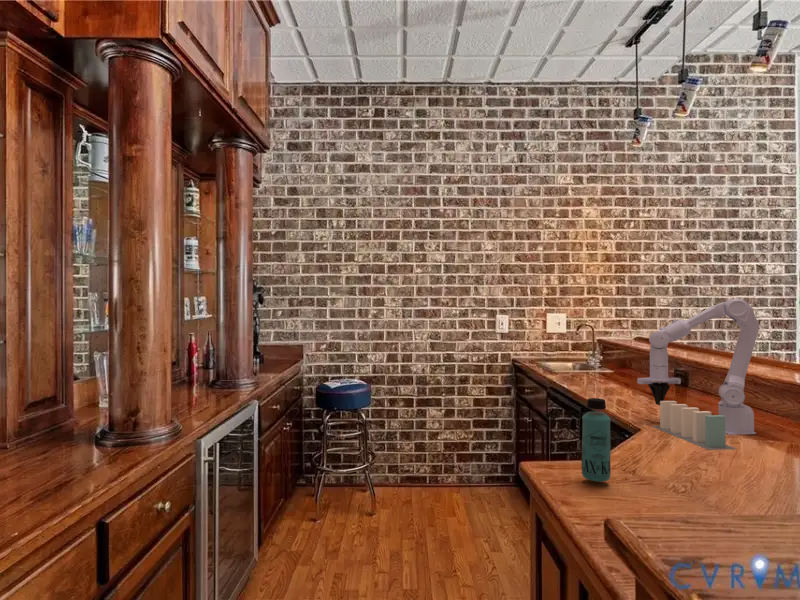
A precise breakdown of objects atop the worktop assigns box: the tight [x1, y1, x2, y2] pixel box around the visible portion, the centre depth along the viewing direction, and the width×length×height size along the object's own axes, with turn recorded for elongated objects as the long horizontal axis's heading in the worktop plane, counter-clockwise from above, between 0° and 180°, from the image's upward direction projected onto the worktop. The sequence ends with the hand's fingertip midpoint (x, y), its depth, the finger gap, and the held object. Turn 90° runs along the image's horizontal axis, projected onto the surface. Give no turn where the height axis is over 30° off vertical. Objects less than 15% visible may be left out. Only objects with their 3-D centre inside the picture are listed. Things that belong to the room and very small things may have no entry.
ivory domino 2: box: [670, 403, 689, 433], centre depth 162 cm, size 5×2×9 cm, turn 95°
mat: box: [650, 425, 737, 451], centre depth 157 cm, size 9×28×1 cm, turn 5°
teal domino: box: [705, 414, 726, 447], centre depth 146 cm, size 5×2×9 cm, turn 95°
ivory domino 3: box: [681, 406, 700, 437], centre depth 157 cm, size 5×2×9 cm, turn 95°
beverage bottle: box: [580, 397, 612, 482], centre depth 117 cm, size 6×7×20 cm
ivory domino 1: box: [659, 400, 678, 429], centre depth 168 cm, size 5×2×9 cm, turn 95°
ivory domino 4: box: [693, 410, 713, 442], centre depth 151 cm, size 5×2×9 cm, turn 95°
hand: (659, 404), depth 173 cm, fingers closed
